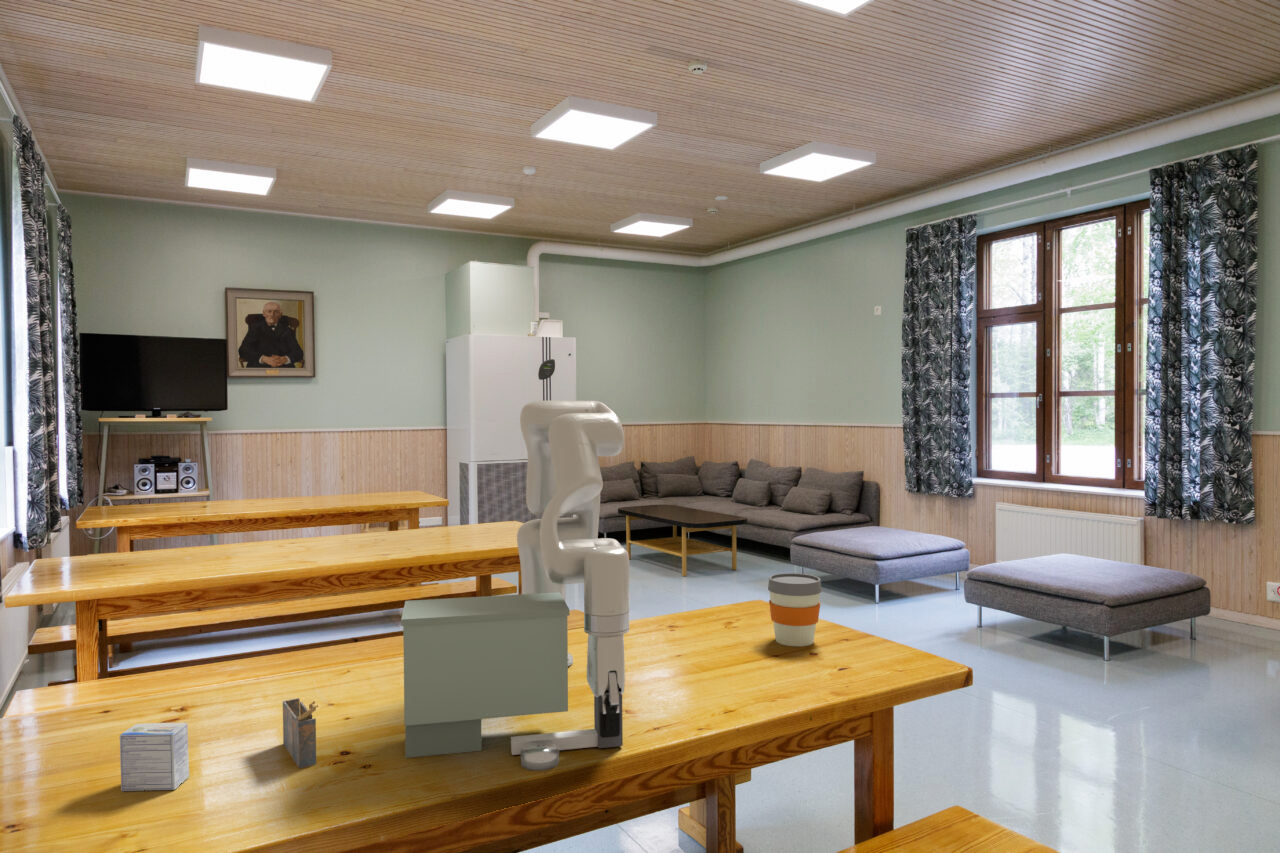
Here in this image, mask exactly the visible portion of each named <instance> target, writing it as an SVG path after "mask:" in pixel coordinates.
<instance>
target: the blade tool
mask: <svg viewBox="0 0 1280 853" xmlns="http://www.w3.org/2000/svg"><path fill="white" fill-rule="evenodd" d="M604 693H609V690H605V692H604ZM593 701H594V702H593V703H594V704H593V710H594V711H593V714H594V715H593V716H594V723H593V724H594V726H593V727H594V728H589V729H579V730H567V731H559V732H558V731H557V732H547V733H537V734H530V735H529V734H528V735H527V734H526V735H517V736H516V735H515V736H510V751H511V755H512V756H515V755H516V756H517V755H521V747H522V746H523V745H524V744H526V743H529V742H532V741H539V740H545V741H551V742H554V743H556V744H558V746H559V751H565V750H575V749H583V748H585V749H586V748H594V747H596V748H597V747H598V749H603V748H617V747H623V744H624V742H623V694H622V695H619V712H620V735H619V736H616V737H606V738H602V737H601V736H600V713H601V712H602V704H601V695H599V697H596V696H595V695H594V694H593ZM607 701H609V698H606V702H607Z"/></svg>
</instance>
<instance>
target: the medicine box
mask: <svg viewBox="0 0 1280 853" xmlns="http://www.w3.org/2000/svg"><path fill="white" fill-rule="evenodd" d="M188 730H189V729H188V723H187V722H153V723H152V722H148V723H147V722H146V723H145V722H144V723H136V724H134V725H132V726H131V727H129V728H127V729H126V730H125V731H123V732H122V733H121V734H120V735H119V757H120V758H119V759H120V785H121V786H120V790H121V792H135V791H136V792H138V791H141V792H142V791H144V790H145V791H174V790H176V789H177V788H178V787H180V786H181V785H182V784H183V783H184V782H185V781H186V780H188V778H189V777H190V767H189V766H190V762H189V736H188V733H189V732H188ZM181 783H182V784H181ZM180 784H181V785H180ZM179 785H180V786H179ZM145 791H144V792H145Z"/></svg>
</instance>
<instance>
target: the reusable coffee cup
mask: <svg viewBox="0 0 1280 853" xmlns="http://www.w3.org/2000/svg"><path fill="white" fill-rule="evenodd" d="M767 584H768V585H767V586H768V587H767V590H768V591H769V597H770V599H769V600H768V602H769V603H768V604H769V612H770V613H769V614H770V619H771V621H772V623H773V629H774V631H773V632H774V638H775V642H776V643H778V644H780V645H783V646H788V647H807V646H811V645H813V644H814V641H815V636H816V635H815V633H816V628H817V627H816V626H817V623H818V622H819V619H820V618H819V616H820V609H821V602H820V596H821V593H822V592H823V591H822V590H823V589H822V582H821V578H820V577H818V576H816V575H813V574H808V573H807V574H806V573H799V572H798V573H794V572H787V573H785V572H783V573H777V574H772V575H770V576H769V578H768V583H767Z"/></svg>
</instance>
